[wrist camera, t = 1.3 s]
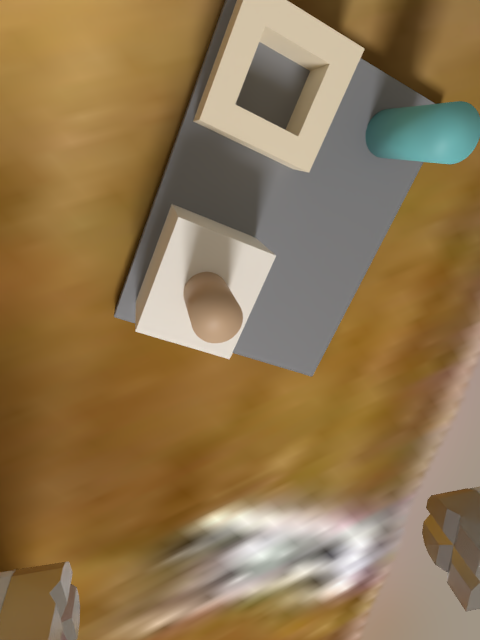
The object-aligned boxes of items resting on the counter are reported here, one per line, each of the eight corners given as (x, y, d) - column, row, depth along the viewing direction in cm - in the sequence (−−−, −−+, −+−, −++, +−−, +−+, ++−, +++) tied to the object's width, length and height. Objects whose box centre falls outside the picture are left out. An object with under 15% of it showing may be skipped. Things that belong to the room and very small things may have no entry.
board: (306, 369, 37) (326, 396, 33) (114, 310, 31) (111, 334, 27) (438, 113, 31) (480, 110, 27) (229, -13, 25) (246, -39, 22)
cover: (216, 327, 32) (243, 393, 24) (135, 301, 30) (135, 363, 22) (255, 237, 30) (299, 275, 22) (171, 203, 28) (186, 231, 20)
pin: (393, 165, 30) (460, 173, 24) (357, 146, 29) (418, 149, 23) (415, 121, 29) (491, 117, 23) (379, 100, 28) (448, 90, 22)
